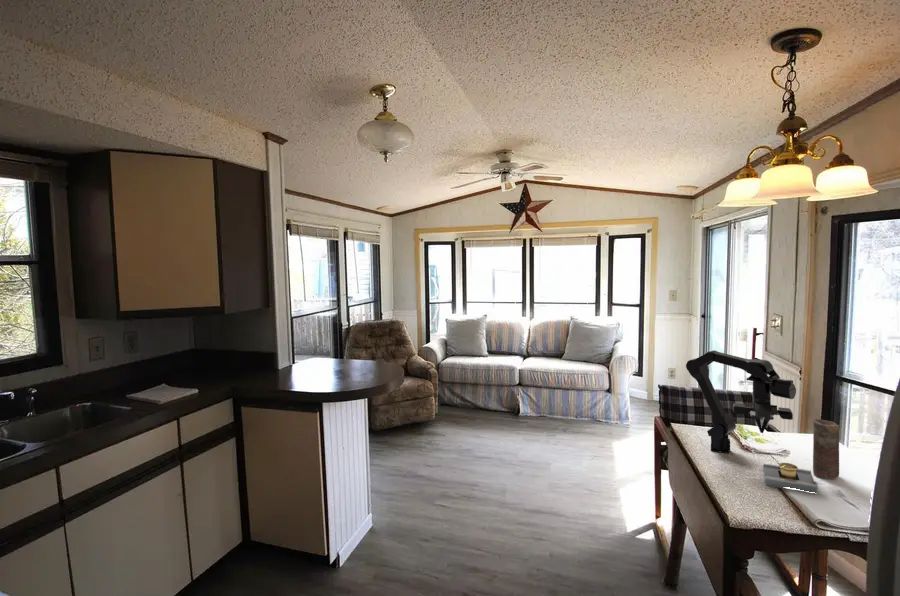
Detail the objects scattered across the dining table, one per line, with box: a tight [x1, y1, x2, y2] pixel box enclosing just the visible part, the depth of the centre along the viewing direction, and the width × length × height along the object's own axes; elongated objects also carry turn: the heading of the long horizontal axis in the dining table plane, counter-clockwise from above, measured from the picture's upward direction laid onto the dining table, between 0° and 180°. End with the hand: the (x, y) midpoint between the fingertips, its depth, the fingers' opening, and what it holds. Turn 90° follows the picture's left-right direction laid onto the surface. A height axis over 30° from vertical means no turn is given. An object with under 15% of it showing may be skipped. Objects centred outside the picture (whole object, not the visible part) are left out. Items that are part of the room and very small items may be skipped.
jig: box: [762, 462, 818, 493], centre depth 159 cm, size 14×12×3 cm
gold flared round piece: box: [778, 462, 799, 480], centre depth 159 cm, size 5×5×6 cm
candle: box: [812, 418, 840, 480], centre depth 162 cm, size 8×7×20 cm
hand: (761, 432), depth 174 cm, fingers closed
